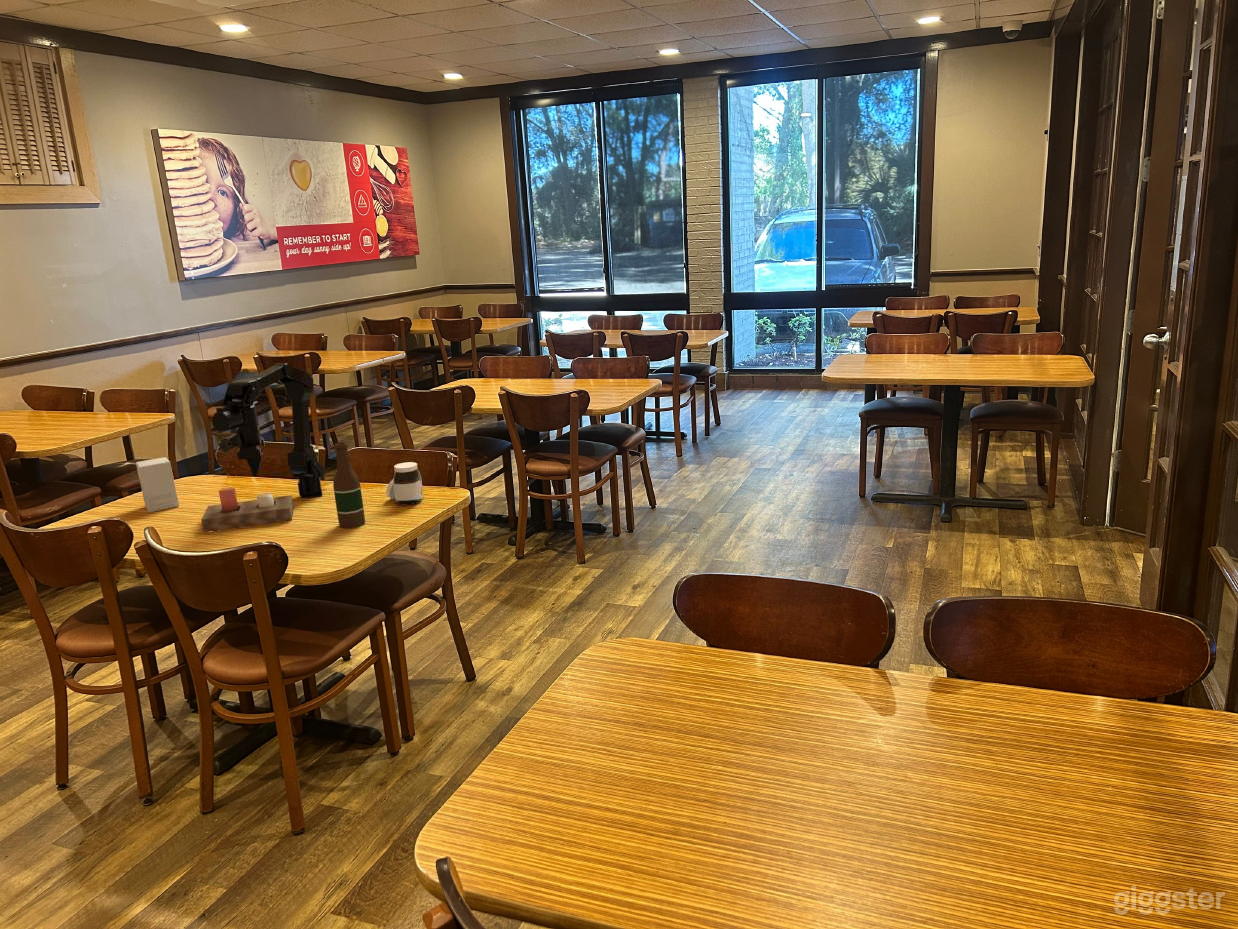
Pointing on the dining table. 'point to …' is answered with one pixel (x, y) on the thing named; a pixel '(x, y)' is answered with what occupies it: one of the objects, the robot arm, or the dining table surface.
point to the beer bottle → (347, 491)
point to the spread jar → (406, 484)
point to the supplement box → (157, 484)
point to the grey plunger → (265, 500)
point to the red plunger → (228, 499)
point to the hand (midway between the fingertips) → (255, 475)
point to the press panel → (248, 514)
